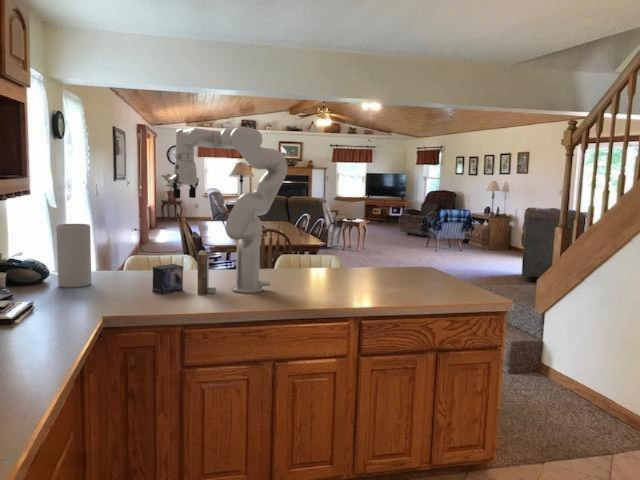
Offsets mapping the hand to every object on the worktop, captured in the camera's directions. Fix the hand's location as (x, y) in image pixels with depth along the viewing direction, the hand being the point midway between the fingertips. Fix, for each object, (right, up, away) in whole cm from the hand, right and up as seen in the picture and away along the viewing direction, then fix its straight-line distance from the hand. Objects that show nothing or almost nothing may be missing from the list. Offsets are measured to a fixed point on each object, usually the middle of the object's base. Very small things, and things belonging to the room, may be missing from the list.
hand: (184, 197), depth 221 cm
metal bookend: (+14, -39, -13) cm, 44 cm away
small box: (-3, -39, -16) cm, 43 cm away
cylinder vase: (-43, -37, -10) cm, 58 cm away
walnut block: (+11, -39, -14) cm, 43 cm away
